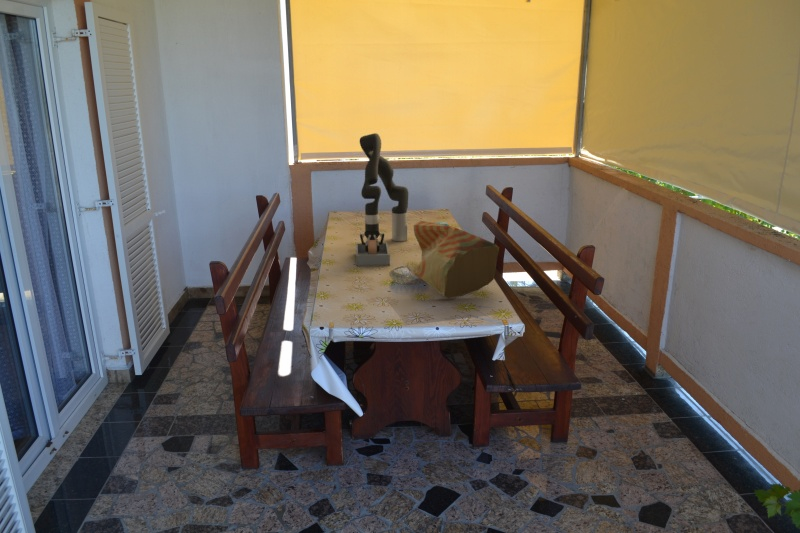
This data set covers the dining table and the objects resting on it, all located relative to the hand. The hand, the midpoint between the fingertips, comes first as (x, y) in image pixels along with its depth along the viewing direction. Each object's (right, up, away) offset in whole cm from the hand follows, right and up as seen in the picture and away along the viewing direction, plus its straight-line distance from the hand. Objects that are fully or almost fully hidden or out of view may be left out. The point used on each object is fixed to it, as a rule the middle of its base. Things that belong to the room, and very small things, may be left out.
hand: (372, 251), depth 354 cm
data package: (+39, +6, +34) cm, 52 cm away
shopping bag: (+39, -18, -42) cm, 61 cm away
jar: (0, -2, +1) cm, 2 cm away
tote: (0, -4, +1) cm, 4 cm away
